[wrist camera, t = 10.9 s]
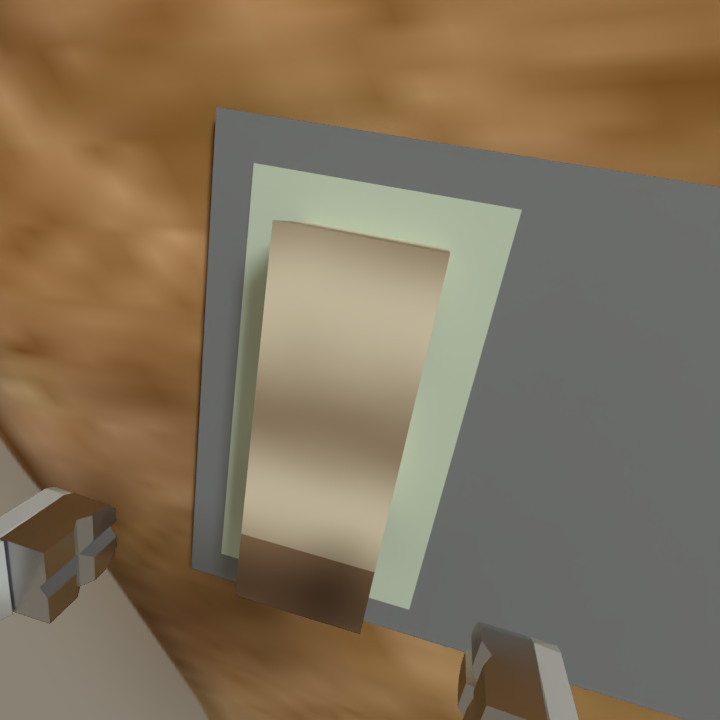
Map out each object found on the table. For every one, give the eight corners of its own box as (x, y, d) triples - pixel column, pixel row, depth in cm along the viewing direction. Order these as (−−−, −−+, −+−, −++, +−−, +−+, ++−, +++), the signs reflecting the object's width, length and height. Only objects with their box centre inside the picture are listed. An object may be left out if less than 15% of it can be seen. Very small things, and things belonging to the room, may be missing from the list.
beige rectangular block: (305, 221, 15) (272, 220, 12) (448, 248, 14) (450, 254, 11) (265, 541, 19) (234, 595, 16) (372, 572, 19) (360, 634, 16)
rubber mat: (1200, 268, 11) (1244, 270, 11) (812, 745, 18) (825, 763, 17) (224, 112, 15) (215, 106, 14) (197, 559, 21) (190, 569, 21)
